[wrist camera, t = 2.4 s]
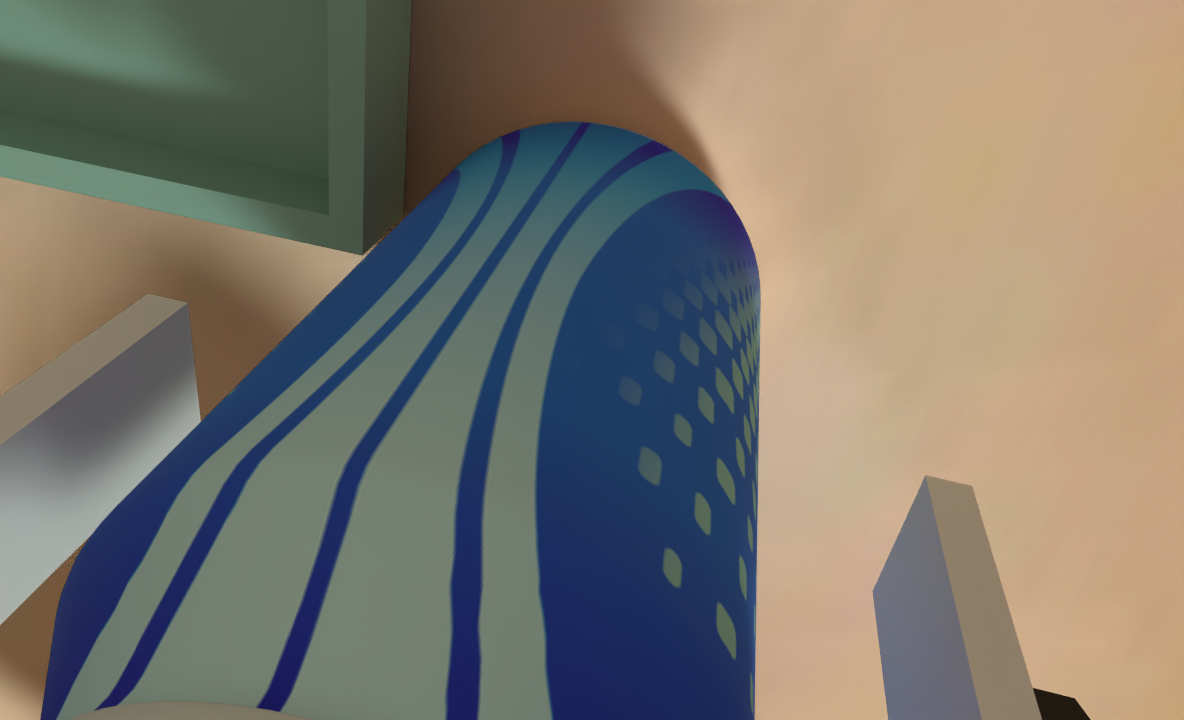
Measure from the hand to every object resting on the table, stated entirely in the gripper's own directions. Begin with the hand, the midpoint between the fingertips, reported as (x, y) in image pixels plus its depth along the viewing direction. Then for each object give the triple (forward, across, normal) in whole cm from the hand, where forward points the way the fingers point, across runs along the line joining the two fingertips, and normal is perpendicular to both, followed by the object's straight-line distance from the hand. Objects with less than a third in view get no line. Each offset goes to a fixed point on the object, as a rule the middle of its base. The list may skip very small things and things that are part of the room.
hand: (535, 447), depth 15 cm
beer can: (+8, 0, 0) cm, 8 cm away
